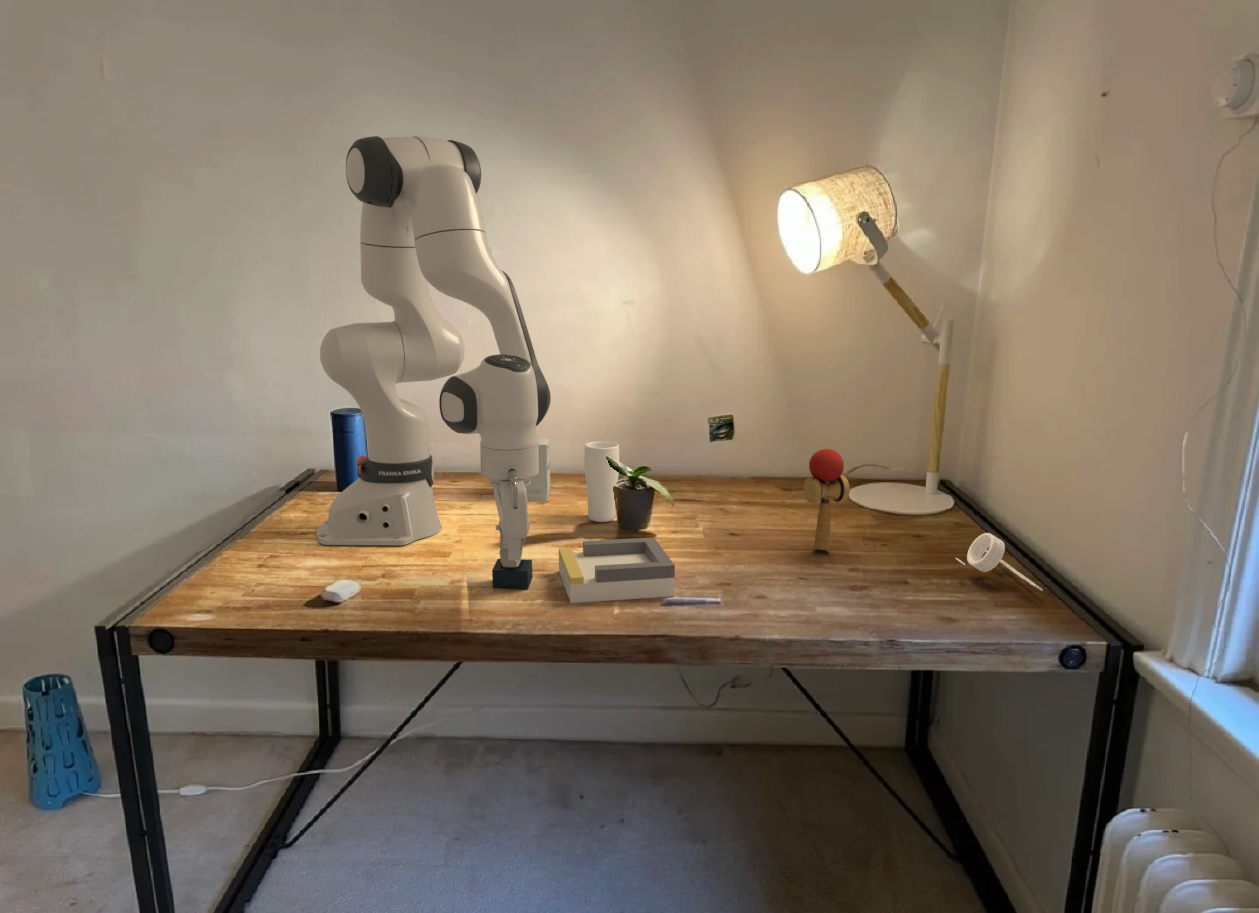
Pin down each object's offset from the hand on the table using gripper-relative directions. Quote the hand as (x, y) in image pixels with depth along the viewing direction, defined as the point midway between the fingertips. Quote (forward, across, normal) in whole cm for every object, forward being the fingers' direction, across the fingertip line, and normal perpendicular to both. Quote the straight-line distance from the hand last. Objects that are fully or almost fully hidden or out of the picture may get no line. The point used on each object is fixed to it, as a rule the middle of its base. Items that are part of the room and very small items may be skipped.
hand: (511, 548), depth 143 cm
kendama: (+6, +9, -56) cm, 57 cm away
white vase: (+6, +33, -20) cm, 39 cm away
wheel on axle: (+6, -9, -77) cm, 77 cm away
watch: (+6, +1, 0) cm, 6 cm away
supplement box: (+6, +50, -8) cm, 51 cm away
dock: (+6, -2, -16) cm, 17 cm away
